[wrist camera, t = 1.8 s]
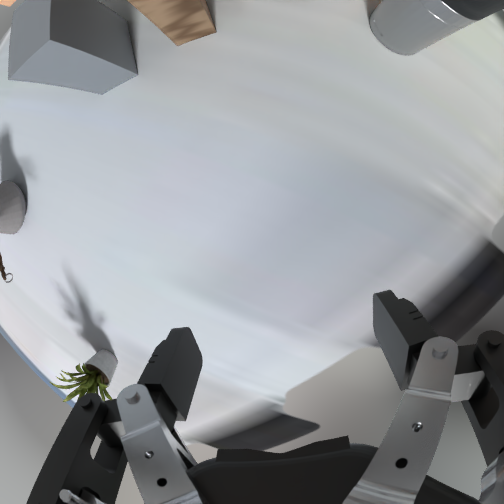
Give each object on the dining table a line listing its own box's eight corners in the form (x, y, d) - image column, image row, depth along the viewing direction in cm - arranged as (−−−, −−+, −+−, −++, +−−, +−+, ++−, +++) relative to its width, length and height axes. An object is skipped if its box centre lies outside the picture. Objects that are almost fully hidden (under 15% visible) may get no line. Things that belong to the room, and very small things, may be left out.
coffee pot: (1, 210, 41) (-45, 230, 27) (11, 168, 37) (-41, 182, 23) (51, 269, 45) (4, 303, 31) (65, 227, 41) (9, 257, 27)
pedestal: (127, 21, 28) (53, -25, 9) (138, 74, 31) (49, 39, 13) (93, 41, 29) (13, 11, 10) (101, 94, 33) (8, 80, 14)
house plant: (70, 327, 50) (31, 371, 35) (114, 328, 48) (74, 382, 33) (96, 372, 55) (67, 418, 40) (140, 378, 53) (112, 432, 38)
